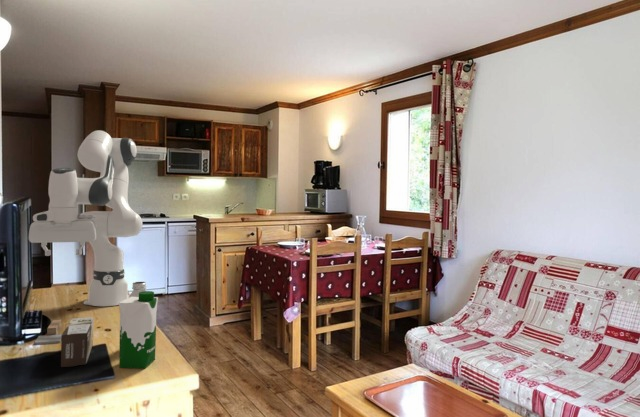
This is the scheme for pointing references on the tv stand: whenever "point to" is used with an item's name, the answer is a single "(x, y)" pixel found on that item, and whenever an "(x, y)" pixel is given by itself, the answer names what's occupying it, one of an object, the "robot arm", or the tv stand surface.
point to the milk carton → (138, 330)
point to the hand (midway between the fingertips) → (63, 254)
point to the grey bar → (51, 334)
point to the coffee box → (77, 342)
